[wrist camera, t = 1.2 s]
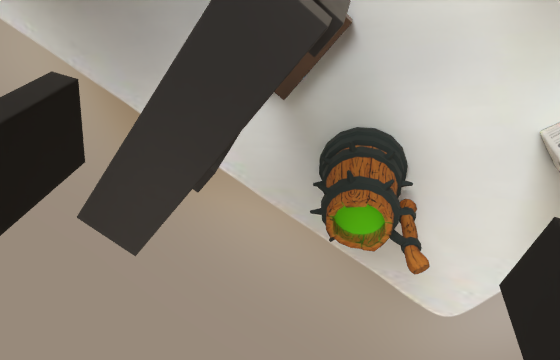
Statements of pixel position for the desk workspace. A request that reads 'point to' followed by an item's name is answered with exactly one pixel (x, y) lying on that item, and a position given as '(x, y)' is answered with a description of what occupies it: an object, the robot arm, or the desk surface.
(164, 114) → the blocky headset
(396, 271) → the desk surface
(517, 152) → the desk surface
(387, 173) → the mug
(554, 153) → the ink box
